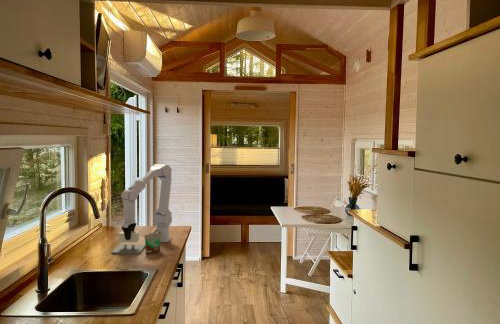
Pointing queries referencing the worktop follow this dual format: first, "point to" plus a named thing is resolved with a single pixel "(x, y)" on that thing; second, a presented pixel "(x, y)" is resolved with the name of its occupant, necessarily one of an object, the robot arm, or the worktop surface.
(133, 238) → the housing cap
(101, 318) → the worktop surface
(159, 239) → the food container
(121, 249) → the stub board
